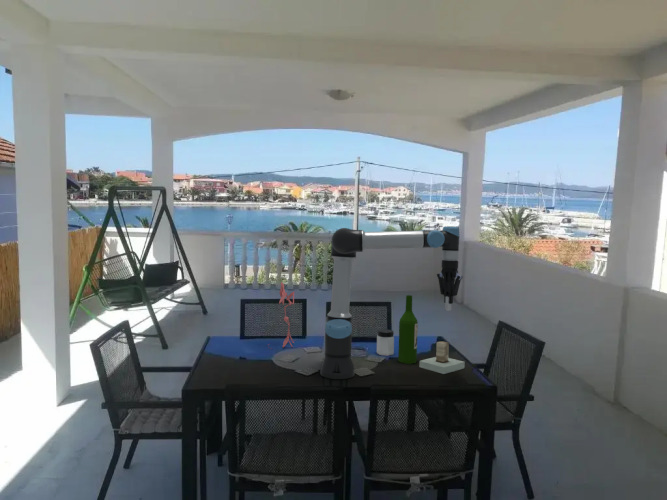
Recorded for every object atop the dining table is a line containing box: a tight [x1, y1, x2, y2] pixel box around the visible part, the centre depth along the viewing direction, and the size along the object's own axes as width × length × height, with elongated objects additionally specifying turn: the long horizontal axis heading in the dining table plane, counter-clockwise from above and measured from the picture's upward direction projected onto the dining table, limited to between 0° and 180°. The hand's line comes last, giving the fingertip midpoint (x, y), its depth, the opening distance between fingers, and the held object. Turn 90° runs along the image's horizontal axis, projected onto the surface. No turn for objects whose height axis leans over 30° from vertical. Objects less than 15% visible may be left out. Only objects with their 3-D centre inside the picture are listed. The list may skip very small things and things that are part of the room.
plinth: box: [418, 356, 466, 375], centre depth 230 cm, size 16×14×3 cm
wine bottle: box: [397, 294, 419, 365], centre depth 239 cm, size 9×9×32 cm
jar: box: [376, 328, 395, 357], centre depth 253 cm, size 9×8×12 cm
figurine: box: [267, 281, 296, 350], centre depth 266 cm, size 15×26×35 cm, turn 0°
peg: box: [435, 341, 450, 363], centre depth 230 cm, size 4×4×12 cm
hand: (448, 310), depth 227 cm, fingers closed
